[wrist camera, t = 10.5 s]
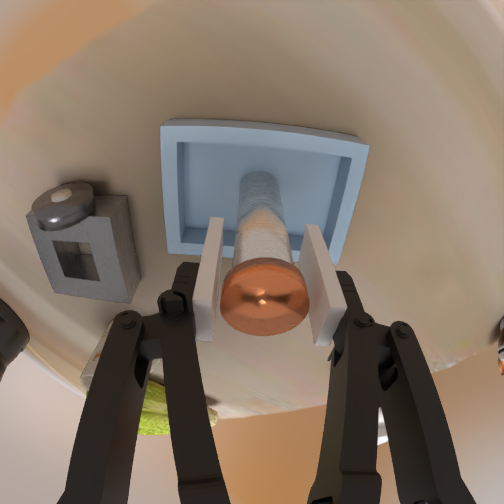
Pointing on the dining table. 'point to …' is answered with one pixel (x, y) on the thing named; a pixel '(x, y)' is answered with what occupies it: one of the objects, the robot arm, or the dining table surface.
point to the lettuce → (159, 411)
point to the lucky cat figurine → (501, 348)
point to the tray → (249, 160)
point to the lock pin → (262, 265)
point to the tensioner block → (88, 231)
